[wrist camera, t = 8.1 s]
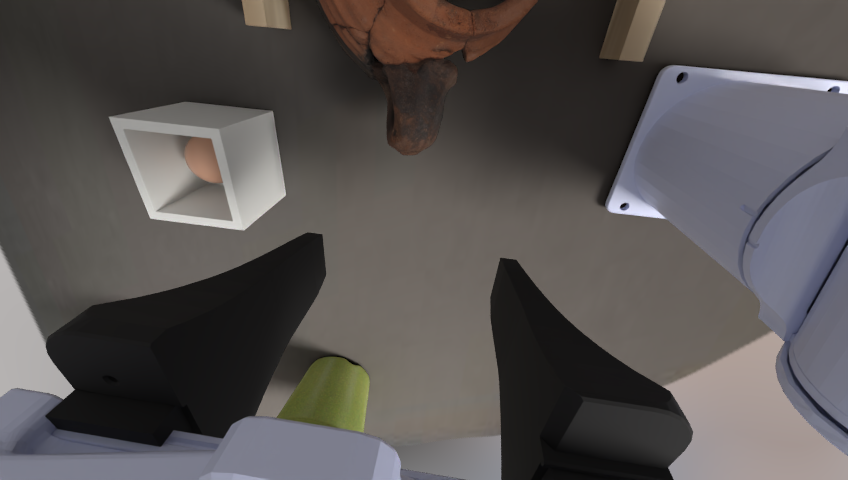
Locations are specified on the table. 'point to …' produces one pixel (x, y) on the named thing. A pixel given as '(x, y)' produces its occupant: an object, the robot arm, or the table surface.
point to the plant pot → (330, 395)
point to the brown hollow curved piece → (416, 53)
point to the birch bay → (622, 42)
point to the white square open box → (235, 151)
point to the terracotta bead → (202, 159)
